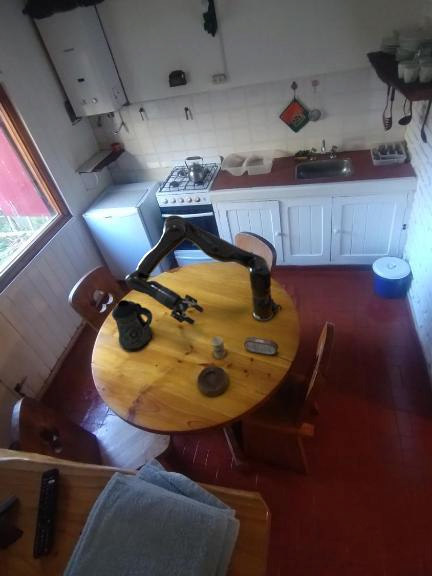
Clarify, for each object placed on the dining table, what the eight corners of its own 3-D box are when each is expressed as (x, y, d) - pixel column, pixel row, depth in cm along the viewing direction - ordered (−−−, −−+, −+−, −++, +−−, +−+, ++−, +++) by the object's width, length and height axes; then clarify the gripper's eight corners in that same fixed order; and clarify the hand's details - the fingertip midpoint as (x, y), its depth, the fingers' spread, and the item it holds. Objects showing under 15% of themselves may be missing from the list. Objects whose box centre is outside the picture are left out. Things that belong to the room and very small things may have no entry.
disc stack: (222, 347, 161) (219, 334, 155) (227, 354, 157) (224, 341, 152) (212, 352, 159) (209, 340, 154) (217, 360, 156) (214, 347, 150)
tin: (278, 351, 154) (278, 339, 149) (277, 357, 152) (276, 345, 146) (246, 346, 159) (244, 334, 154) (244, 351, 157) (242, 339, 152)
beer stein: (118, 334, 178) (100, 299, 163) (154, 320, 182) (140, 284, 167) (124, 357, 166) (106, 321, 150) (162, 341, 170) (148, 304, 154)
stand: (218, 367, 153) (217, 361, 150) (233, 386, 144) (231, 381, 141) (195, 380, 149) (193, 375, 147) (208, 401, 140) (206, 396, 138)
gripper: (160, 301, 145) (193, 321, 143) (177, 283, 156) (208, 302, 154) (157, 312, 150) (188, 332, 148) (173, 294, 161) (203, 312, 159)
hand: (198, 316), depth 151 cm, fingers open, 8 cm apart
